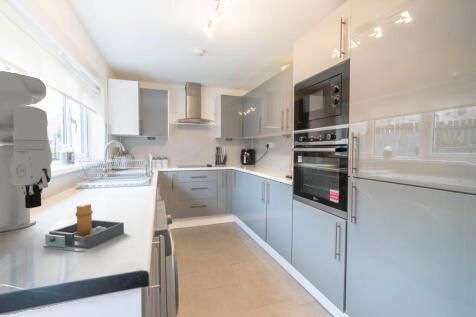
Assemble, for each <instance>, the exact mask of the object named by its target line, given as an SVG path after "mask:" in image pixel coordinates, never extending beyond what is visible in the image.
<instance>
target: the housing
mask: <svg viewBox="0 0 476 317" xmlns="http://www.w3.org/2000/svg"><path fill="white" fill-rule="evenodd" d="M124 228H125V223H124V222H120V221H109V220H98V219H92V230H90V234H89V235H87V236H84V237H82V236H77V222H76V223H72V224H69V225H65V226H63V227H60V228H57V229H54V230H50V231H48V234H50V235H59V236H65V247H58V246H51V245H45V244H44V245H42V247H43V248H48V249H49V248H50V249H56V250H61V251H63V250H64V251H70V252H77V253H84V252H86V249H92V248H95V247H96V246H98V245H101V244H103V243H105V242H107V241H110V240H112V239H113V238H116V237H118V236H120V235H122V234H124V233H125V229H124ZM68 246H69V247H68ZM82 248H83V249H82Z"/></svg>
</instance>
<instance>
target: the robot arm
mask: <svg viewBox="0 0 476 317" xmlns="http://www.w3.org/2000/svg"><path fill="white" fill-rule="evenodd" d="M47 94H48V86H47V84H46V82H45V80H43V79H42V78H40V77H38V76H34V75H30V74H25V73H22V72H17V71H11V70H1V71H0V233H1V232H9V231H16V230H19V229H24V228H28V227H30V226H33V225H34V224H35V225H36V222H37V220H36V219H35V218H31V209H33V208H38V207H39V208H40V207H41V206H42V194H43V189H46V188H48V186H49V184H48V183H50V182H51V180H52V171H51V170H52V169H51V168H52V167H51V166H52V162H53V154H52V151H51V144H50V141H49V136H48V125H49V124H48V122H49V121H48V114H47V111H46V110H45V108H43V107H40V106H36V104H38V103H40V102H41V101H42V100H44V99H45V98H46V96H47Z"/></svg>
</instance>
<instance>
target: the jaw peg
mask: <svg viewBox="0 0 476 317" xmlns="http://www.w3.org/2000/svg"><path fill="white" fill-rule="evenodd" d="M93 212H94V211H93V210H92V204H91V203H89V204H88V203H86V204H85V203H84V204H80V205H76V212H75V217H76V223H77V236H82V237H84V236H87V235H89V234H90V230H92V220H93V219H92V217H93V216H92V215H93Z"/></svg>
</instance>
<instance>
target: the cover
mask: <svg viewBox="0 0 476 317" xmlns="http://www.w3.org/2000/svg"><path fill="white" fill-rule="evenodd" d="M44 237H45V238H44V243H45V244H44V245H51V246H58V247H66V245H65V236H59V235H50V234H49V233H46V234H45V235H44Z"/></svg>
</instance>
